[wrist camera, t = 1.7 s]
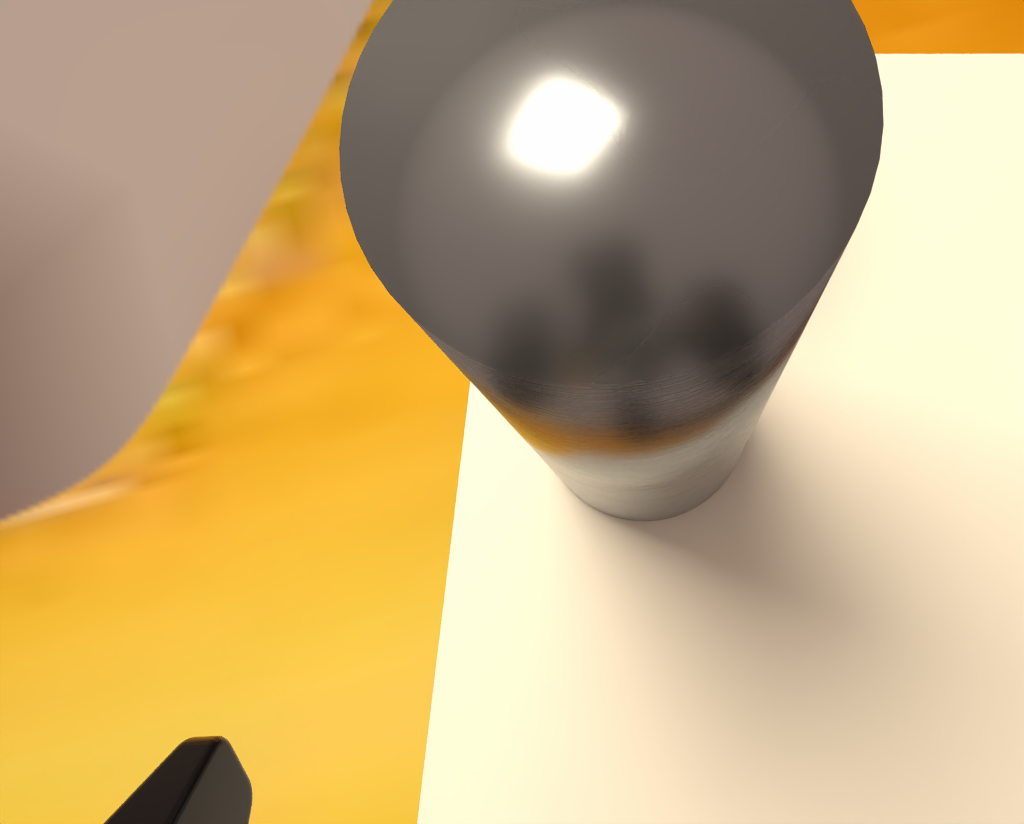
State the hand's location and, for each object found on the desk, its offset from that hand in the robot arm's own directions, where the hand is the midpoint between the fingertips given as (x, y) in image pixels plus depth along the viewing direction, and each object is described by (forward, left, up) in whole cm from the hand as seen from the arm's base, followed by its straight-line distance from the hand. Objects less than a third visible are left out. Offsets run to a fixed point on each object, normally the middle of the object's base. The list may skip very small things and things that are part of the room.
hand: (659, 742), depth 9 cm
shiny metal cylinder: (+5, +1, -10) cm, 11 cm away
